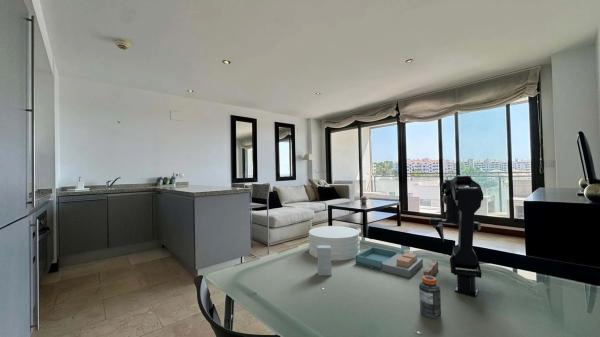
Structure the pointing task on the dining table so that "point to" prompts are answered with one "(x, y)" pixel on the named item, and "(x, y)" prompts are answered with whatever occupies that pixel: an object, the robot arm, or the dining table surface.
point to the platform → (401, 270)
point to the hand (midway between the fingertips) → (454, 243)
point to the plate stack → (335, 241)
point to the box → (374, 257)
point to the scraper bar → (431, 268)
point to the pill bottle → (430, 297)
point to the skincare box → (324, 259)
